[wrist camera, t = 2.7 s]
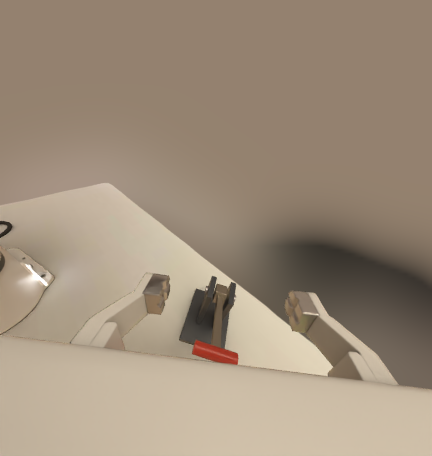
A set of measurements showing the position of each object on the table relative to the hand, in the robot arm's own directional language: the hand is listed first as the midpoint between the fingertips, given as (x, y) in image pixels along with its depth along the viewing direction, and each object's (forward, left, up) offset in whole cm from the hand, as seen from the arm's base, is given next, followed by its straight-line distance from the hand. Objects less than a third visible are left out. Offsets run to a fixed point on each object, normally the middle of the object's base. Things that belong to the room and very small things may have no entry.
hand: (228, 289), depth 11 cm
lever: (0, +5, -18) cm, 18 cm away
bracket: (-2, +10, -32) cm, 34 cm away
